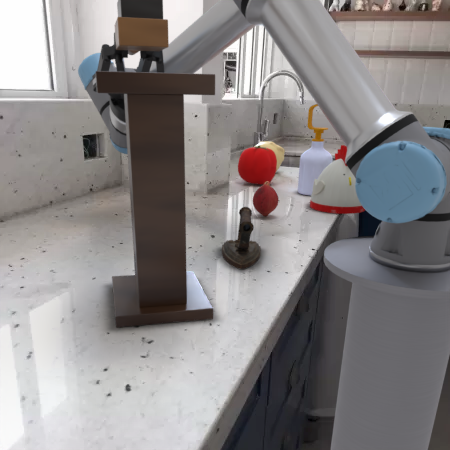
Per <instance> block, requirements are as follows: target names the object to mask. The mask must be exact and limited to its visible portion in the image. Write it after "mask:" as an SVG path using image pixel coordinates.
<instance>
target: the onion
mask: <svg viewBox="0 0 450 450" xmlns="http://www.w3.org/2000/svg"><path fill="white" fill-rule="evenodd" d="M270 184H271V182H269V181H267V182H265V183H264V184H263V185H261V186H260V187H258V189H256V191H255V192H254V194H253V196H252V205H253V207H254V209H255V210H256V212H257V213H259V214H261V216H262V217H268V216H269V215H270V214H271V213H273V212H274V211H275V210H276V209H277V207H278V205H279V202H280V201H279V196H278V195H279V194H278V192H277V191H276V190H275V189H274V188H273V187H272V186H271V185H270Z"/></svg>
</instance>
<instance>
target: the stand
mask: <svg viewBox="0 0 450 450" xmlns="http://www.w3.org/2000/svg"><path fill="white" fill-rule="evenodd" d="M96 87H97V93H116V94H124V103H125V119H126V136H127V152H128V154H127V166H128V182H129V201H130V202H129V203H130V215H131V216H130V217H131V230H132V231H131V232H132V249H133V250H132V251H133V265H134V266H133V267H134V274H130V275H129V274H127V275H114V276H111V283H112V285H111V286H112V295H113V296H112V297H113V306H114V319H115V328H128V327H137V326H149V325H150V326H151V325H159V324H170V323H171V324H172V323H181V322H193V321H206V320H213V319H214V307H213V305H212V303H211V301H210V300H209V298H208V296H207V294H206V292H205V291H204V289H203V287H202V285H201V283H200V281H199V278H198V277H197V276H196V274H195V272H194V271H193V270H191V271H190V270H188V271H187V220H186V219H187V218H186V216H187V215H186V213H187V212H186V157H185V155H186V150H185V149H186V147H185V100H184V99H185V96H216V74H215V73H194V74H191V73H154V72H118V71H96Z"/></svg>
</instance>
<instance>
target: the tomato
mask: <svg viewBox="0 0 450 450" xmlns="http://www.w3.org/2000/svg"><path fill="white" fill-rule="evenodd" d="M254 146H255V147H254ZM254 146H251V147H250V146H248V147H246V148H245V149H243V151H242V152H241V154H240V156H239V159H238V164H237V172H238V175H239V177H240V179H242V181H245V182H246V183H248V184H252V185H253V184H254V185H261V186H262V185H263V184H264V183H265V182H267V181H269V182H270V183H271V182H272V181H273V179H274V178H275V176H276V172H277V171H276V168H277V159H276V155H275V152H274V151H273V150H272V149H269V148H266V147H260V145H258V147H256V145H254Z"/></svg>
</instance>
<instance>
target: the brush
mask: <svg viewBox="0 0 450 450" xmlns="http://www.w3.org/2000/svg"><path fill="white" fill-rule="evenodd" d="M116 8H117V17H116V20H115V22H114V33H115V41H116V50H128V56H135V55H136V54H138V53H140V51H161V50H163V49H165V48H168V47H169V44H170V41H169V20H168V19H167V18H165V19H164V0H117V3H116Z"/></svg>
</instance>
